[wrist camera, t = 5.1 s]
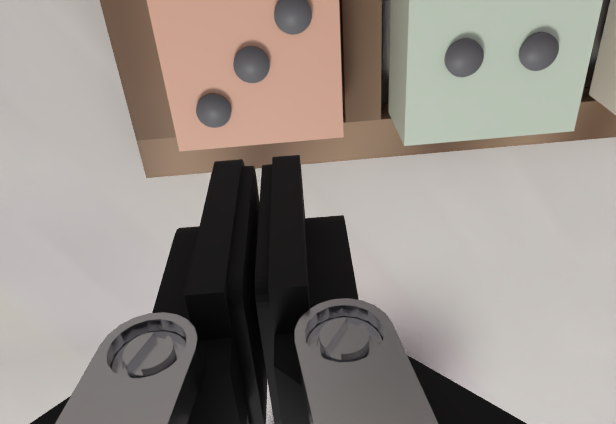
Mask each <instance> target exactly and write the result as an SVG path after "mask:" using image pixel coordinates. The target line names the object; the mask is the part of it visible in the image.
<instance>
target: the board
mask: <svg viewBox="0 0 616 424" xmlns="http://www.w3.org/2000/svg"><path fill="white" fill-rule="evenodd" d="M100 3H101V7H102V10H103V14H104V18H105V22H106V26H107V30H108V33H109V37H110V41H111V45H112V49H113V52H114V56H115V60H116V64H117V68H118V71H119V75H120V79H121V83H122V87H123V90H124V94H125V98H126V102H127V106H128V109H129V113H130V117H131V121H132V125H133V128H134V132H135V136H136V140H137V144H138V147H139V151H140V155H141V159H142V163H143V167H144V170H145V174H146V178H151V177H163V176H174V175H186V174H197V173H209V172H212V170H213V165H214V162H215V161H226V160H239V159H243V161H244V165H245V166H254V167H255V168H262V165H268V164H272V157H278V156H291V155H300V163H301V164H312V163H323V162H334V161H346V160H357V159H369V158H380V157H392V156H403V155H414V154H426V153H437V152H449V151H460V150H472V149H483V148H495V147H506V146H517V145H529V144H540V143H552V142H563V141H575V140H586V139H597V138H609V137H616V115H615V114H613V113H612V112H611V111H610V110H608V109H607V108H606V107H604V106H603V105H602V104H600V103H599V102H598V101H596V100H595V99H594V98H592V97H591V96H590V95H589V91H590V87H591V86H590V87H584V89H583V93H582V98H581V102H580V107H579V111H578V116H577V120H576V125H575V129H574V131H571V132H560V133H548V134H537V135H525V136H514V137H502V138H491V139H480V140H468V141H457V142H445V143H434V144H422V145H411V146H404V144H403V142H402V140H401V138H400V136H399V134H398V131H397V129H396V127H395V125H394V123H393V121H392V118H391V116H390V114H389V112H388V110H389V104H381V44H382V0H339V11H340V41H341V72H342V103H343V133H344V137H342V138H330V139H319V140H307V141H296V142H284V143H273V144H261V145H249V146H238V147H226V148H215V149H203V150H192V151H180V152H179V147H178V143H177V138H176V133H175V129H174V124H173V120H172V115H171V111H170V106H169V101H168V97H167V92H166V88H165V83H164V78H163V74H162V69H161V65H160V60H159V55H158V51H157V46H156V42H155V37H154V33H153V28H152V23H151V19H150V14H149V10H148V5H147V0H100Z"/></svg>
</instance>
